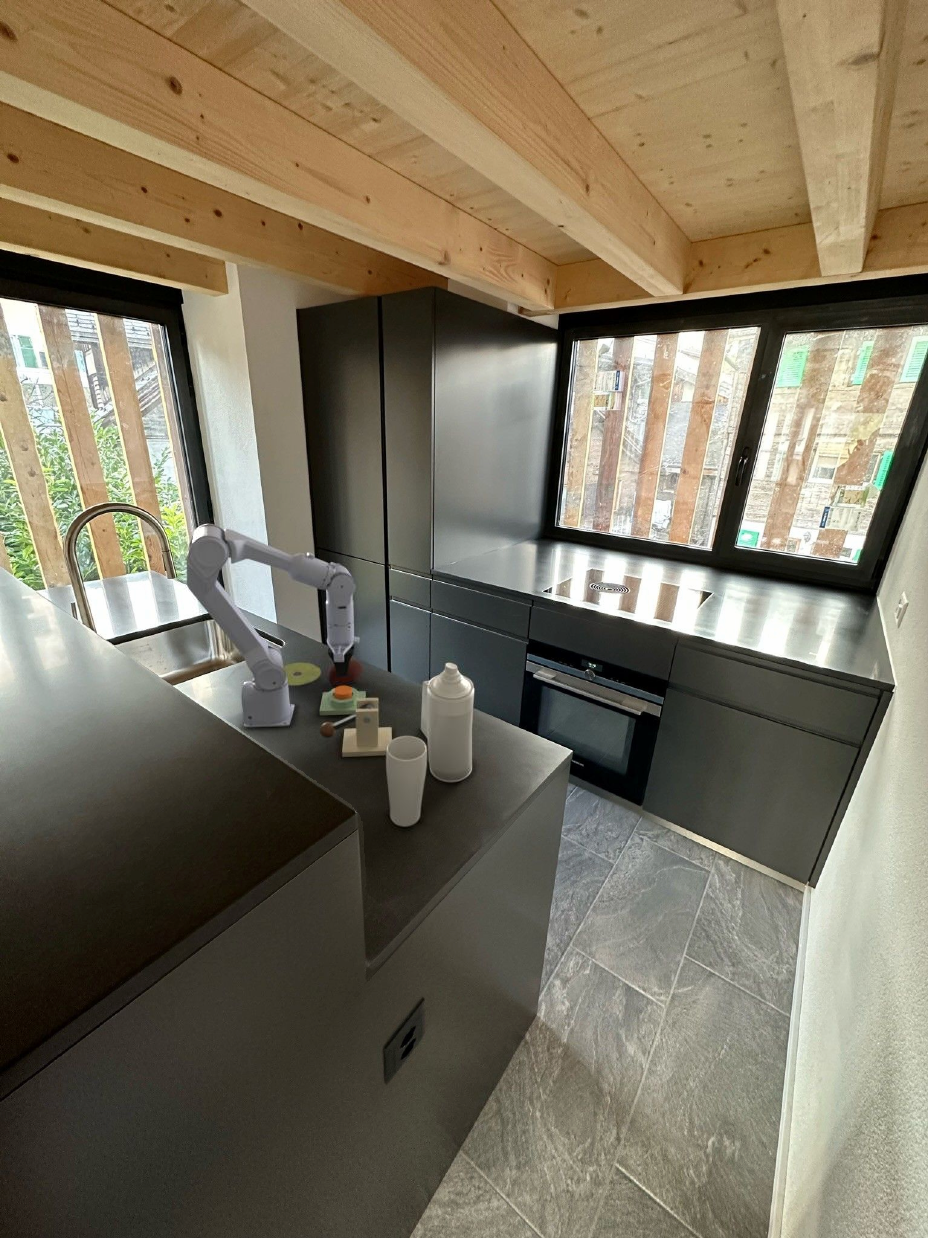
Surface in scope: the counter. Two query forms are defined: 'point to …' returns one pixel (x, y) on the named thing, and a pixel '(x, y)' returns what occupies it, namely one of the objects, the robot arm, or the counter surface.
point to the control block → (340, 703)
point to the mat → (301, 673)
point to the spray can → (450, 724)
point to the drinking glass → (406, 778)
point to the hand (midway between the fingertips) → (342, 674)
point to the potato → (348, 680)
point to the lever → (340, 723)
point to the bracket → (366, 733)
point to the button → (342, 692)
